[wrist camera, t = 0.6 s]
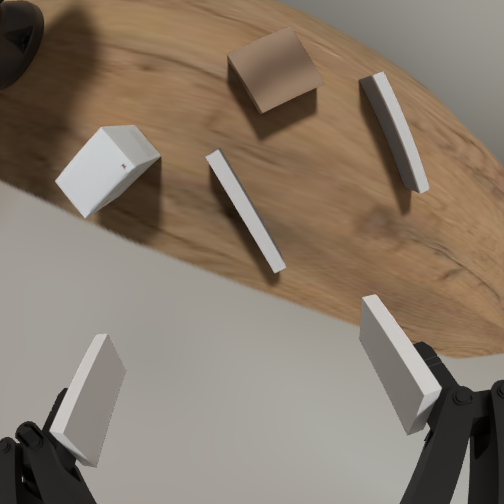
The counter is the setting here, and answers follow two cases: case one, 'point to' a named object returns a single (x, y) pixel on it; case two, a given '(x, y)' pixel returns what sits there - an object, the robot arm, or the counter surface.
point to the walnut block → (274, 69)
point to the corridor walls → (397, 141)
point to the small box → (106, 167)
